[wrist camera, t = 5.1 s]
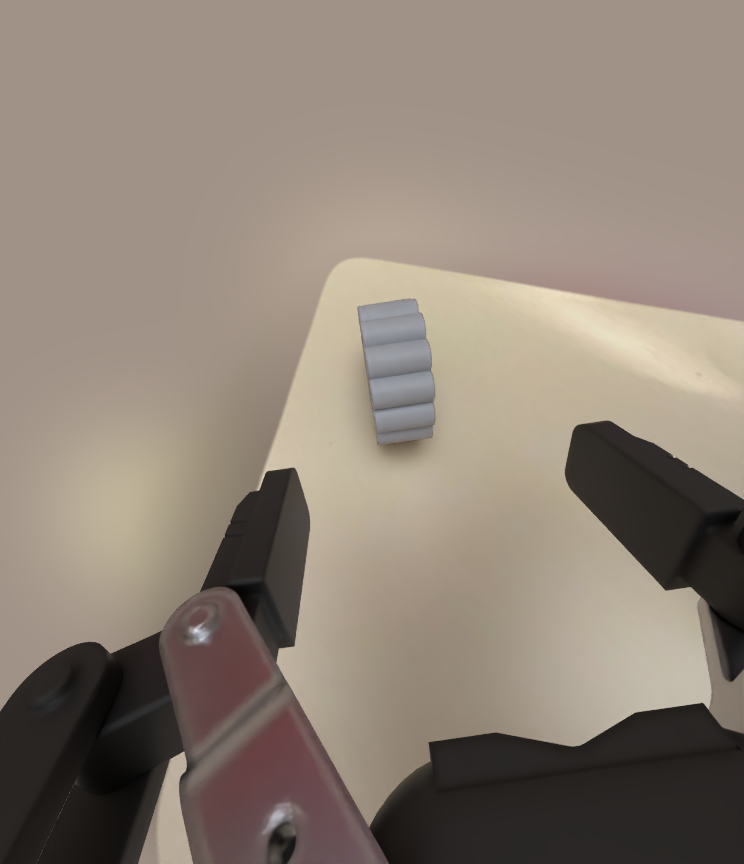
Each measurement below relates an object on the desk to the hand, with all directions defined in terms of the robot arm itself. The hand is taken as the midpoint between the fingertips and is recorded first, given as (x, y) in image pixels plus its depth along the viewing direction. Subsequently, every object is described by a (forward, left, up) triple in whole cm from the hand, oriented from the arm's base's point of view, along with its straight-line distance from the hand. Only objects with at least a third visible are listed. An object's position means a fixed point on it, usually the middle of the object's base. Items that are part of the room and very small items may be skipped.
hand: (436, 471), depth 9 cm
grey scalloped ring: (+3, +6, -12) cm, 14 cm away
